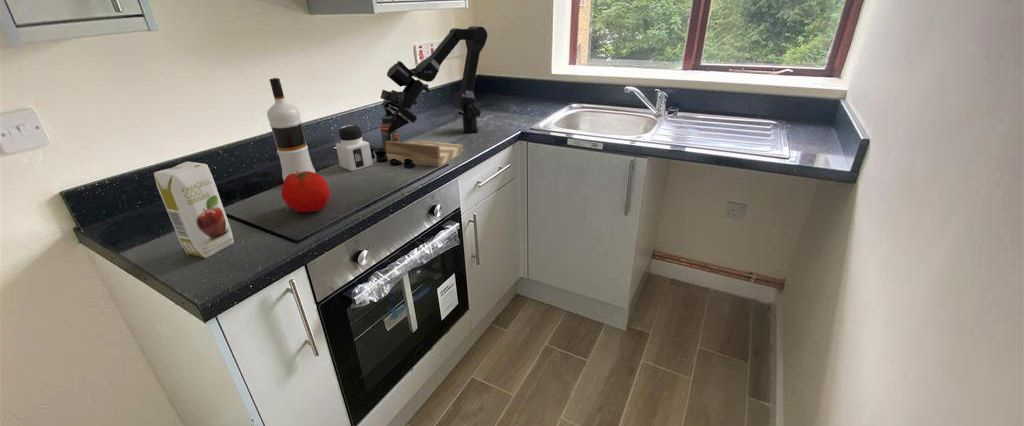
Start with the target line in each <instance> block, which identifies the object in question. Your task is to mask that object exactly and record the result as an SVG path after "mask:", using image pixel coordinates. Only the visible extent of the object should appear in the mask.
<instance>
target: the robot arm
mask: <svg viewBox="0 0 1024 426" xmlns="http://www.w3.org/2000/svg"><path fill="white" fill-rule="evenodd" d="M463 40H464V43H465V45H466V55H465V61H464V62H465V63H464V69H463V74H462V79H461V86H460V89H459V90H458V92H456V91H454V94H453V95H454V96H453V100H452V103H453V107H454V109H455V110H456V111H457V113H458V115H460V116H461V119H462V130H461V133H462V134H463V133H464V134H466V133H467V134H469V133H473V134H474V133H475V134H476V133H478V132H479V130H480V127H478V119H477V118H479V117H480V116H481V113H482V111H481V110H480V109H479V108H478V107H477V106H476V104H475V103H476V98H475V93H474V88H475V83H476V76H477V70H478V65H479V60H480V59H479V58H480V54H481V52H482V50H483V49H484V47H485V45H486V43H487V40H488V31H487V30H486V28H485V27H484V26H476V25H471V26H469V27H467V28H457V27H453V28H451V29H450V30H449V33H447V34H446V36H445V37H444V38H443V40H442V41H441V42H440V43H439V45H437V47H436V48H435V49H434V51H433V52H432V53H431V54H430V55H429V56H428V57H426V58H425V59H423V60H421V62H419V63H418V64H417V65H416V66H415V67H413V68H411V69H410V68H409V67H407V66H406V65H405V64H404V63H403V62H402V61H401V60H400V61H399V60H397V62H396V63H394V64H393V65H392V66H391V67H389V69H388V70H387V73H386V76H387V77H388V79H390V80H391V81H392V82H394V83H395V84H396V85H397V86H399V88H400V87H404V88H403V90H401V91H397V90H393V89H392V90H391V91H389V90H385V89H382V91H381V94H380V99H382V100H383V102H382V103H381V106H383V107H382V108H383V110H384V116H393V119H394V120H393V122H392V123H391V125H390V127H389V129H388V132H389V133H392V132H393V131H395V130H397V129H398V130H399V129H401V128H402V127H404V126H406V125H408V124H410V123H413V124H415V122H416V121H417V118H418V117H417V114H415V113H414V112H413V111H411V108H413V106H416V105H417V104H418V102H417V100H418V99H419V97H420V96H421V95H422V93H423V92H426V93H430V89H429V88H430V87H429V84H428V83H424V82H429V83H431V82H433V81H434V80H435V79H436V77H437V75H438V73H439V71H440V67H441V65H442V63H443V62H444V61H445V60H446V59H447V58H448V55H450V54H451V53H452V51H453V50H454V49H455V47H456V46H457V45H459V42H461V41H463ZM415 78H416V79H415ZM422 81H423V82H422Z"/></svg>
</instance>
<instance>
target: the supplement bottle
mask: <svg viewBox="0 0 1024 426" xmlns="http://www.w3.org/2000/svg"><path fill="white" fill-rule="evenodd" d="M393 120H394V119H393V116H385V115H384V116H382V117H381V121H382V122H381V123H380V125H379V127H380V133H381V138H382V139H381V140H382V141H381V142H382V146H383V148H384V149H385V150H386V146H385V142H386V141H394V142H400V136H399V128H398V129H397V130H395V131H393V132H392V133H389V132H388V129H389V127H390V125H391V123H392V122H393Z"/></svg>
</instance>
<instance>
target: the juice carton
mask: <svg viewBox="0 0 1024 426" xmlns="http://www.w3.org/2000/svg"><path fill="white" fill-rule="evenodd" d="M153 176H154V180H155V183H156V188H157V190H158V193H159V195H160V197H161V200H162V203H163V205H164V207H165V211H166V212H167V214H168V217H169V220H170V221H171V222H170V223H171V224H172V226H173V229H174V230H175V233H176V236H177V238H178V241H179V243H180V245H181V247H182V248H183V250H184V251H185V252H186V254H187V255H190V256H191V255H192V256H195V257H200V258H205V259H206V258H210V257H212V256H213V255H215V254H217V253H218V252H220V251H222V250H224V249H226V248H228V247H230V246H231V245H233V244H234V243H235V242H234V236H233V232H232V229H231V225H230V223H229V222H230V221H229V220H228V216H227V214H226V211H225V208H224V206H223V203H222V200H221V197H220V194H219V192H218V188H217V185H216V182H215V180H214V177H213V175H212V172H211V169H210V168H209V166H208V164H206V163H202V162H194V161H184V162H182V163H179V164H177V165H175V166H173V167H170V168H165V169H161V170H158V171H154V172H153Z"/></svg>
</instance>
